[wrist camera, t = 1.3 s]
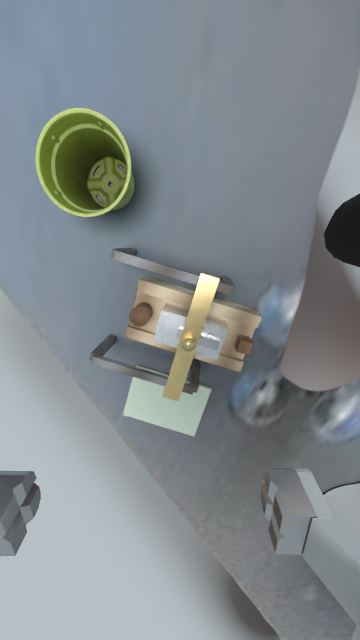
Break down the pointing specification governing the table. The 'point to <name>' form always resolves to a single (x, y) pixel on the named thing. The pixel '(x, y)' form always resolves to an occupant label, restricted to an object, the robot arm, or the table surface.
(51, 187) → the plant pot
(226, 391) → the table surface
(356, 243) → the portable speaker
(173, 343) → the grey block with handle
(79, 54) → the table surface
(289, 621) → the table surface
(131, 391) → the sage mat
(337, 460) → the table surface
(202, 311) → the brass bolt
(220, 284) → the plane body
